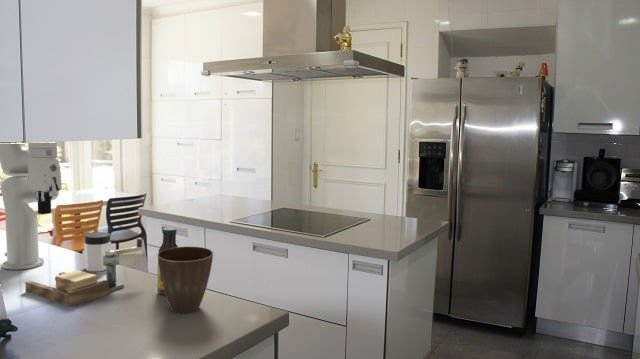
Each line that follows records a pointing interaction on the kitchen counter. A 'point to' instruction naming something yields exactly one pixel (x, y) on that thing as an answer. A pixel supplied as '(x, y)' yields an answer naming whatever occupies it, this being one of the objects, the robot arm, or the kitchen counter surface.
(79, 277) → the tan wooden block
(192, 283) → the plant pot
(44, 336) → the kitchen counter surface
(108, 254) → the crank
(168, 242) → the sauce bottle
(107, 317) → the kitchen counter surface
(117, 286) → the winch post
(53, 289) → the bay
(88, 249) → the jar
